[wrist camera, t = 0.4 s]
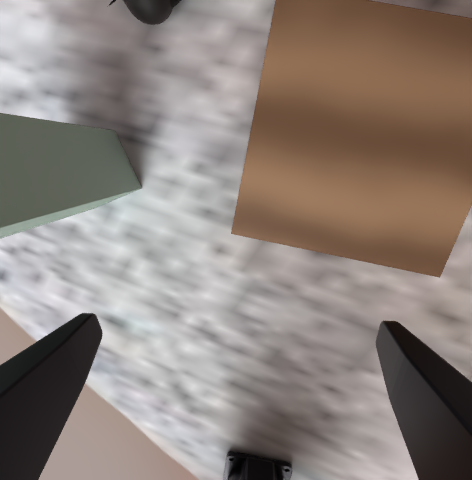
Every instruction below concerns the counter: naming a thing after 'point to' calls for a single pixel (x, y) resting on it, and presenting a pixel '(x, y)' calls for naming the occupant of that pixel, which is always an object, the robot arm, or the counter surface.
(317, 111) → the walnut base
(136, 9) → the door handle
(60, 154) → the green post
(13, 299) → the counter surface
